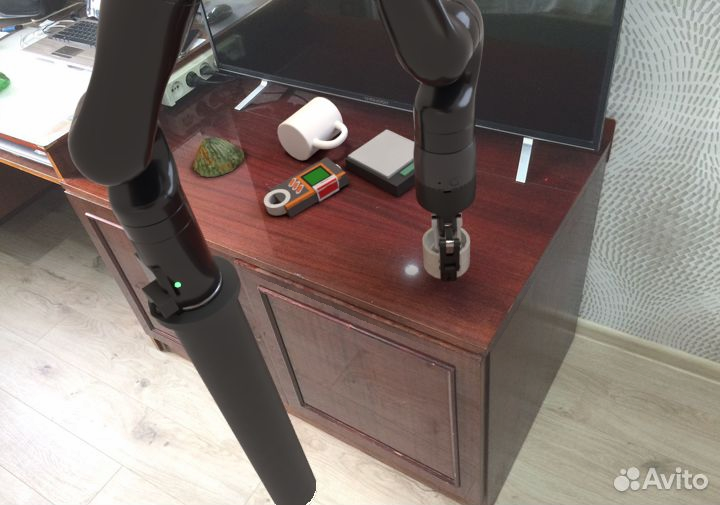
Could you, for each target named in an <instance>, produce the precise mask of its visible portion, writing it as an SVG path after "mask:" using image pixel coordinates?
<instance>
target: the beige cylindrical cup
mask: <svg viewBox="0 0 720 505" xmlns="http://www.w3.org/2000/svg"><path fill="white" fill-rule="evenodd" d="M453 238H456V233H455V235H454V236H453ZM438 239H445V238H442V237H440V236H439V233H438ZM421 240H422V241H421V242H422V257H423V259H422V260H423V268H424V269H425V271H426V273H428V274H429V275H430V276H432V277H433V278H436V279H440V280H441V278H440V270H439V266H440V264H439V263H438V259H439V250H437V249H436V248H435V243H434V229H433V228H432V227H430V228H429V229H428V230H426V231H425V232H424V234H423V237H422V239H421ZM470 260H471V238H470V235H469V233H468V232H467V231H466V229H465V228H463V227H461V247H460V269H459V271H457V278H459V277H461V276H463V275H464V274H465V273H466V272H467V271H468V269H469V268H470V264H471V263H470V262H471V261H470Z"/></svg>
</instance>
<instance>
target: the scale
mask: <svg viewBox="0 0 720 505" xmlns="http://www.w3.org/2000/svg"><path fill="white" fill-rule="evenodd" d="M413 151H414V141H413V140H411V139H410V138H409V139H408V138H406V137H404V136H403V135H400V134H398V133H395V132H394V131H391V130H389V129H385V130H383V131H381V133H379V134H377V135H376V136H374V137H373V138H372V139H370V140H369V141H367V142H366V143H364V144H363V145H361V146H360V147H358V148H357V149H356V150H354V151H352V152H351V153H350V154H348V155H347V156H346V157H345V158H344V162H345V168H346V170H347V171H349V172H351V173H353V174H355V175H356V176H359V177H360V178H362V179H364V180H366V181H367V182H369V183H371V184H373V185H375V186H376V187H378V188H380V189H381V190H384V191H386V192H388V193H390V194H391V195H393V196H395V197H397V198H399V197H401V196H402V195H403V194H404V193H405V192H406V191H409V190H410V189H411V188H413V187H414V186H415V174H414V159H413Z"/></svg>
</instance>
